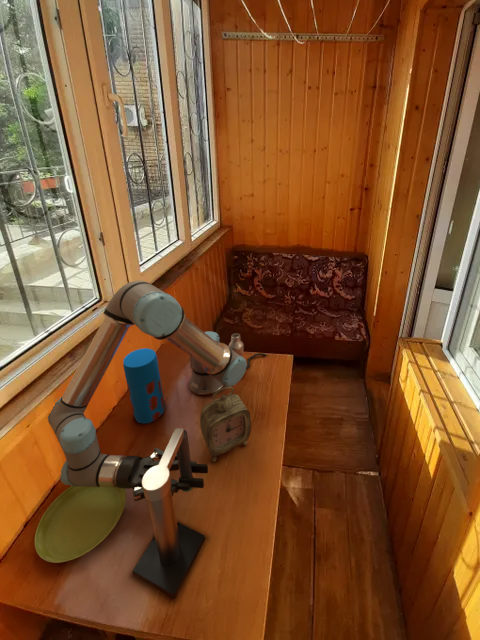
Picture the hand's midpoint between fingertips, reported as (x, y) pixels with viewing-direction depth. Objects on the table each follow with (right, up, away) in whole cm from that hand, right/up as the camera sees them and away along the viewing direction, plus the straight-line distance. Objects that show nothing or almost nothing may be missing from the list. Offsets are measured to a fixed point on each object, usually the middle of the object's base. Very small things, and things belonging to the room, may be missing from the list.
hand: (205, 475), depth 85 cm
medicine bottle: (-19, +11, +60) cm, 64 cm away
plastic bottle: (+1, +8, +52) cm, 53 cm away
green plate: (-32, -11, -1) cm, 34 cm away
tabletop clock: (+2, -4, +20) cm, 20 cm away
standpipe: (-6, -14, -8) cm, 17 cm away
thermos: (-30, +1, +33) cm, 44 cm away
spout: (-6, -6, -5) cm, 10 cm away
